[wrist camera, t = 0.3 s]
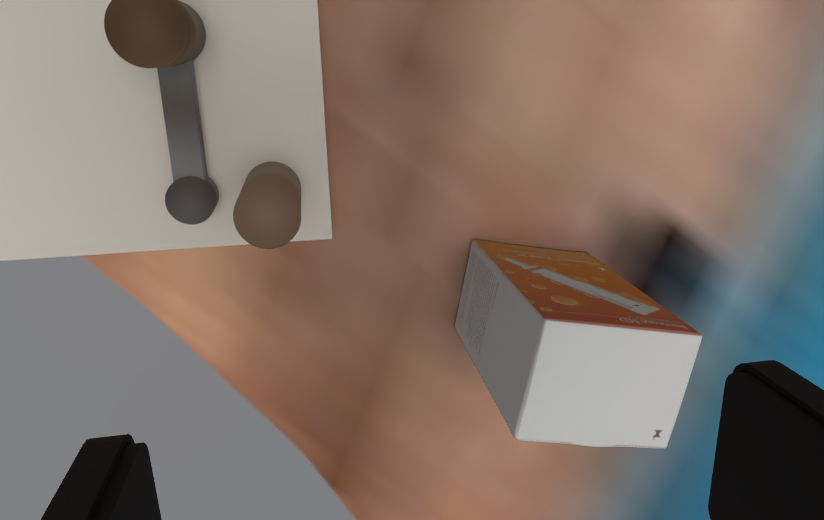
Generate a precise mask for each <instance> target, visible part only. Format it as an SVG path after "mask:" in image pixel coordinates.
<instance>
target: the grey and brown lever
mask: <svg viewBox="0 0 824 520" xmlns="http://www.w3.org/2000/svg"><path fill="white" fill-rule="evenodd" d="M104 28H105V33H106V37H107V39H108V41H109V43H110V45H111V47H112V48H113V50H114V51H115V52H116V53H117V54H118V55H119V56H120V57H121V58H122V59H124V60H125V61H127V62H128V63H130V64H132V65H135V66H138V67H141V68H157V71H158V78H159V85H160V92H161V99H162V106H163V113H164V120H165V127H166V134H167V141H168V148H169V155H170V162H171V168H172V175H173V183H172V184H171V185H170V187H169V188H168V190H167V192H166V195H165V204H166V208H167V210H168V212H169V213H170V215H171V216H172V217H173V218H175V219H176V220H177V221H179V222H181V223H184V224H190V225H194V224H199V223H202V222H204V221H206V220H207V219H208V218H209V217H210V216H211V215H212V213H213V211H214V209H215V207H216V206H217V203H218V200H219V192H218V188H217V186H216V184H215V183H214V181H213V180H212V179H211V178H210V177H208V174H207V166H206V158H205V150H204V142H203V134H202V126H201V118H200V110H199V102H198V94H197V86H196V78H195V70H194V62H193V60H195V59H196V58H197V57H198V56H199V55H200V53H201V52H202V50H203V48H204V46H205V41H206V31H205V26H204V23H203V21H202V19H201V17H200V16H199V14H198V13H197V12H196V11H195V10H194V9H193V8H192V7H191V6H189V5H187V4H186V3H184V2H181V1H179V0H111V2H110V3H109V5H108V7H107V9H106V12H105V17H104Z"/></svg>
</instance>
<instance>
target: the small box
mask: <svg viewBox="0 0 824 520" xmlns="http://www.w3.org/2000/svg"><path fill="white" fill-rule="evenodd" d="M455 329H456V331H457V333H458V335H459V337H460V339H461V341H462V342H463V344H464V346H465V348H466V350H467V352H468V354H469V356H470V357H471V359H472V361H473V363H474V365H475V366H476V368H477V370H478V372H479V373H480V375H481V377H482V379H483V381H484V383H485V385H486V386H487V388H488V390H489V392H490V394H491V396H492V397H493V399H494V401H495V403H496V405H497V406H498V408H499V410H500V412H501V414H502V416H503V417H504V419H505V421H506V423H507V425H508V427H509V429H510V431H511V433H512V435H513V437H514V438H515V439H517V440H524V441H536V442H549V443H565V444H576V445H584V446H595V447H613V446H622V447H647V448H666V447H667V444H668V441H669V438H670V435H671V432H672V430H673V427H674V424H675V421H676V418H677V415H678V412H679V409H680V406H681V403H682V400H683V396H684V393H685V390H686V387H687V384H688V381H689V377H690V374H691V371H692V368H693V365H694V362H695V359H696V356H697V352H698V349H699V346H700V343H701V340H702V335H701V334H700V333H699V332H697V331H696V330H695V329H693V328H692V327H690V326H689V325H687V324H686V323H684V322H683V321H682V320H680V319H679V318H677V317H676V316H675V315H673V314H672V313H670V312H669V311H668V310H666V309H665V308H664V307H662V306H661V305H659V304H658V303H657V302H655V301H654V300H652V299H651V298H650V297H648V296H647V295H646V294H644V293H643V292H641V291H640V290H639V289H637V288H636V287H634V286H633V285H632V284H630V283H629V282H627V281H626V280H625V279H623V278H622V277H620V276H619V275H618V274H616V273H615V272H613V271H612V270H611V269H609V268H608V267H607V266H605V265H604V264H603V263H601V262H600V261H599V260H597V259H596V258H594V257H593V256H591V255H590V254H589V253H587V252H576V251H564V250H554V249H546V248H537V247H529V246H521V245H513V244H506V243H498V242H491V241H484V240H477V239H473V241H472V243H471V249H470V254H469V259H468V264H467V268H466V274H465V279H464V284H463V288H462V293H461V297H460V303H459V308H458V312H457V317H456V322H455Z"/></svg>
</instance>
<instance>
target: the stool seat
mask: <svg viewBox="0 0 824 520" xmlns="http://www.w3.org/2000/svg"><path fill="white" fill-rule="evenodd" d="M179 1H181V2H184V3H186V4H187V5H189V6H191V7H192V8H193V9H194V10H195V11H196V12H197V13H198V14H199V16H200V17H201V19H202V21H203V23H204V26H205V31H206V41H205V46H204V48H203V50H202V52H201V53H200V55H199V56H198V57H197V58H196V59H195V60H193V62H194V70H195V78H196V86H197V94H198V102H199V110H200V118H201V126H202V134H203V142H204V150H205V158H206V166H207V174H208V177H210V178H211V179H212V180H213V181H214V183H215V184H216V186H217V188H218V192H219V200H218V203H217V206H216V207H215V209H214V211H213V213H212V215H211V216H210V217H209V218H208V219H207V220H206V221H204V222H202V223H199V224H194V225H190V224H184V223H181V222H179V221H177V220H176V219H175V218H173V217H172V216H171V215H170V213H169V212H168V210H167V208H166V204H165V195H166V192H167V190H168V188H169V187H170V185H171V184H172V183H173V175H172V168H171V162H170V155H169V148H168V141H167V134H166V127H165V120H164V113H163V106H162V99H161V92H160V85H159V78H158V71H157V68H141V67H138V66H135V65H132V64H130V63H128V62H127V61H125V60H124V59H122V58H121V57H120V56H119V55H118V54H117V53H116V52H115V51H114V50H113V48H112V47H111V45H110V43H109V41H108V39H107V37H106V33H105V28H104V17H105V12H106V9H107V7H108V5H109V3H110V2H111V0H0V261H5V260H20V259H34V258H50V257H65V256H80V255H96V254H111V253H126V252H141V251H156V250H171V249H186V248H201V247H217V246H232V245H247V244H251V245H253V246H256V247H259V248H265V249H272V248H277V247H280V246H283V245H285V244H287V243H288V242H292V241H307V240H322V239H332V225H331V210H330V194H329V178H328V162H327V146H326V130H325V115H324V99H323V83H322V67H321V51H320V36H319V20H318V4H317V0H179Z"/></svg>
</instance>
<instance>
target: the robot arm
mask: <svg viewBox="0 0 824 520" xmlns="http://www.w3.org/2000/svg"><path fill="white" fill-rule="evenodd" d="M708 510H709V515H710V518H711V520H824V390H822V389H821V388H819V387H818V386H816V385H814V384H813V383H811V382H810V381H808V380H807V379H805V378H803V377H802V376H800V375H799V374H797V373H796V372H794V371H792V370H791V369H789V368H788V367H786V366H785V365H783V364H781V363H780V362H777V361H775V360H769V361H760V362H751V363H742V364H739V365H738V366H736V368H735V369H734V371H733V373H732V374H730V375H729V376H728V377H727V379H726V382H725V388H724V395H723V403H722V410H721V417H720V424H719V431H718V438H717V446H716V453H715V460H714V467H713V474H712V482H711V489H710V496H709V503H708ZM41 520H161V515H160V509H159V504H158V499H157V493H156V488H155V483H154V477H153V472H152V467H151V462H150V456H149V451H148V447H147V445H146V444H145V443H136V444H135V443H134V440H133V438H132V436H131V435H129V434H127V435H118V436H110V437H100V438H92V439H88V440H86V442H85V443H84V444H83V446H82V448H81V449H80V451H79V453H78V455H77V457H76V458H75V460H74V462H73V464H72V465H71V467H70V469H69V471H68V473H67V474H66V476H65V478H64V479H63V481H62V483H61V485H60V486H59V488H58V490H57V492H56V494H55V495H54V497H53V499H52V501H51V502H50V504H49V506H48V508H47V510H46V511H45V513H44V515H43V517H42V518H41Z"/></svg>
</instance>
